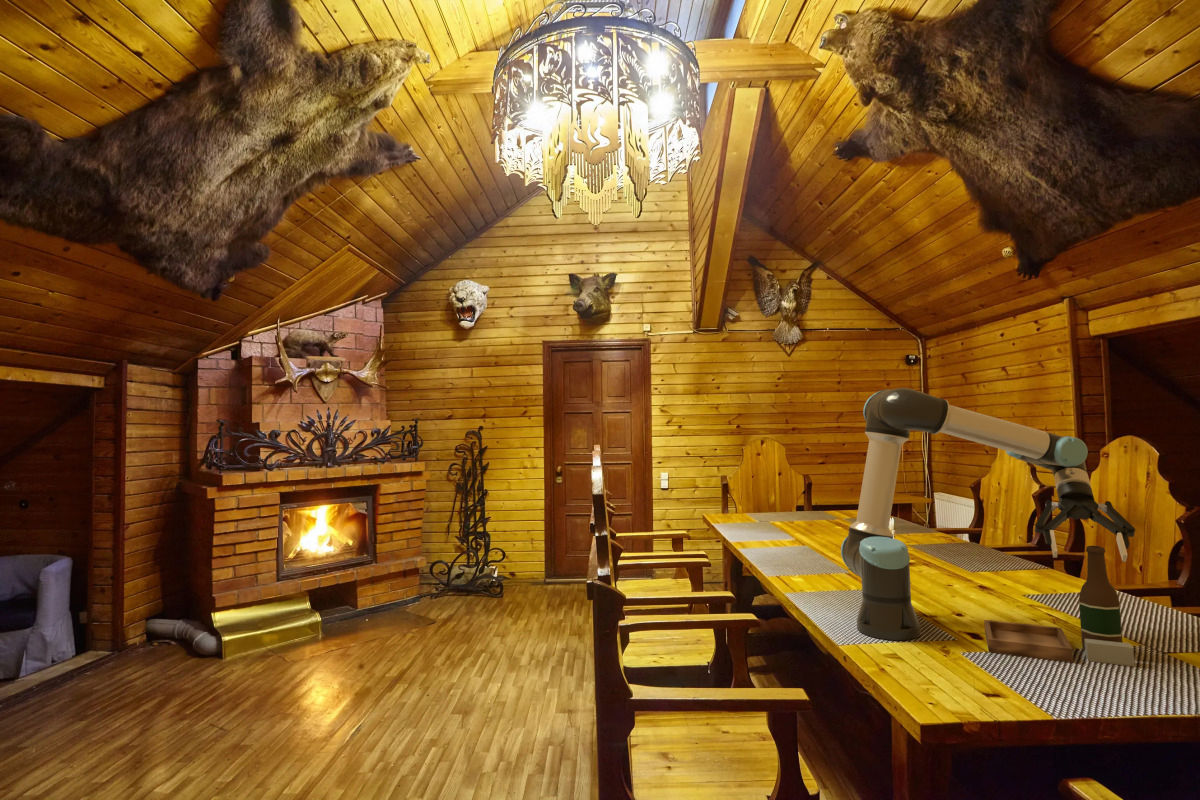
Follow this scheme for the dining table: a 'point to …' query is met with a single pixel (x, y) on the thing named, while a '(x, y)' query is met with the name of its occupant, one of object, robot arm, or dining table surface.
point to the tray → (1028, 640)
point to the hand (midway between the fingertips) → (1089, 556)
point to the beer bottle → (1099, 601)
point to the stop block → (1109, 652)
